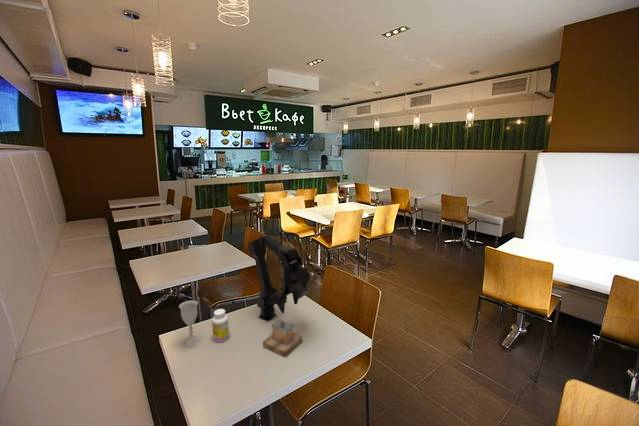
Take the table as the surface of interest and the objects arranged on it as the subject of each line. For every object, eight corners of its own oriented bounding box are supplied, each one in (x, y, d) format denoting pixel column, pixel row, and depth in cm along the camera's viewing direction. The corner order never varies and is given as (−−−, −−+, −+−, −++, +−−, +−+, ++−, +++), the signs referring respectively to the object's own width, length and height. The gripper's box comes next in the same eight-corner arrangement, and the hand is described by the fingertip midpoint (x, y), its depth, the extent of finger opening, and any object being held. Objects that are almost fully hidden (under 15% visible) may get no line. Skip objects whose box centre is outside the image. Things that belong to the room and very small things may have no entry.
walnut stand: (263, 347, 125) (262, 341, 125) (280, 332, 135) (280, 327, 135) (285, 357, 119) (285, 351, 119) (302, 341, 129) (302, 336, 129)
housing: (286, 345, 122) (286, 330, 121) (271, 339, 127) (271, 324, 125) (293, 339, 127) (293, 324, 125) (279, 333, 131) (279, 318, 129)
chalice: (183, 349, 123) (179, 310, 119) (182, 340, 129) (178, 302, 125) (201, 344, 126) (198, 306, 122) (200, 335, 132) (197, 299, 128)
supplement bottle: (210, 337, 131) (208, 311, 128) (224, 331, 136) (222, 305, 133) (218, 344, 126) (216, 317, 124) (231, 337, 131) (230, 311, 128)
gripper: (290, 289, 118) (290, 324, 122) (316, 273, 133) (315, 305, 137) (269, 282, 124) (270, 315, 127) (296, 268, 139) (296, 298, 143)
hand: (289, 308), depth 133 cm, fingers open, 9 cm apart
